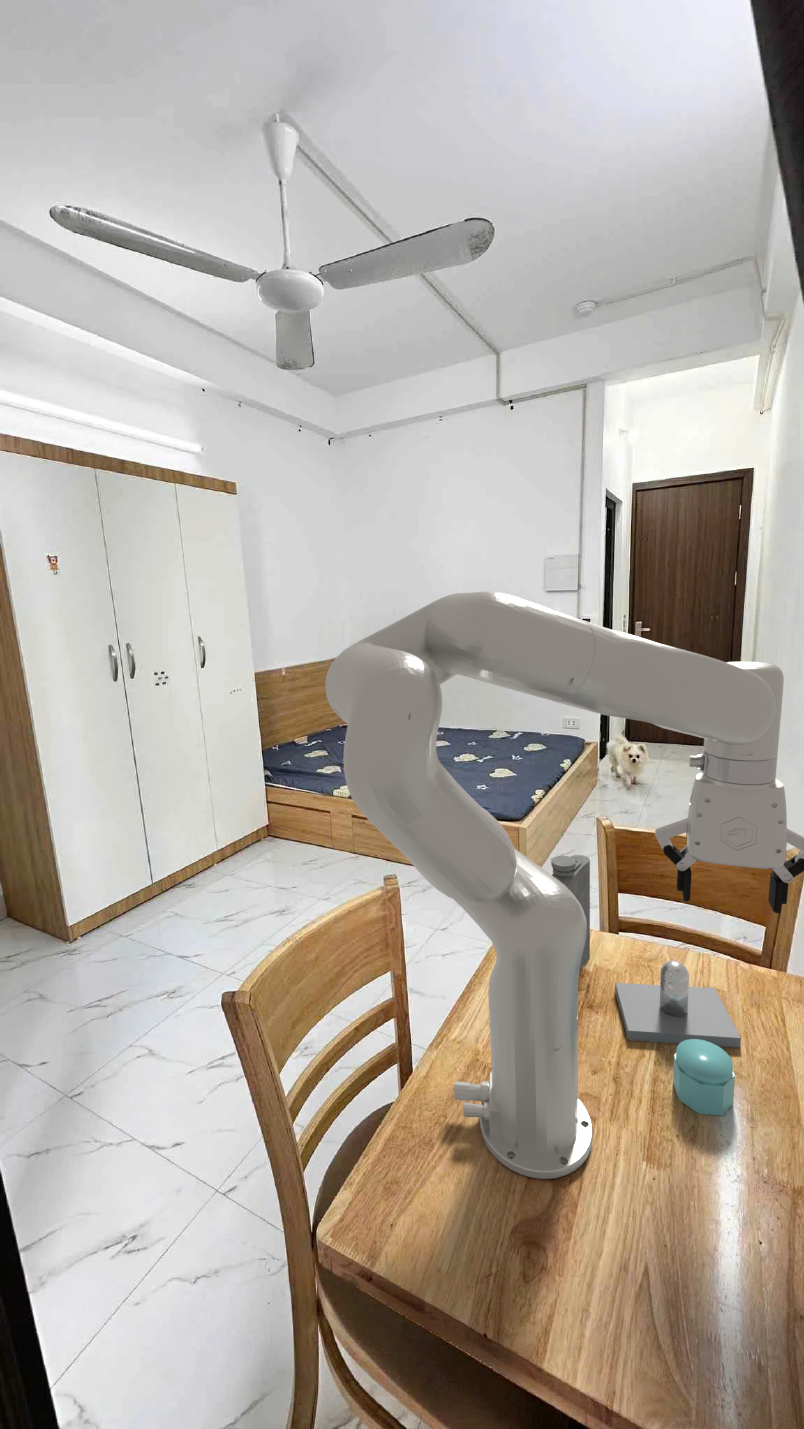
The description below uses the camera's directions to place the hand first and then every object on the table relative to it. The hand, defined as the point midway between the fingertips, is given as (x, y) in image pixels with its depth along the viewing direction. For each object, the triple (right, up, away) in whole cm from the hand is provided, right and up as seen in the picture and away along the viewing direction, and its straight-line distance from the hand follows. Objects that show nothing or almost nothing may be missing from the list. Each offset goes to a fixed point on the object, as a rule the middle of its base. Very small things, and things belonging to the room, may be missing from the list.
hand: (728, 901), depth 73 cm
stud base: (-2, -20, +11) cm, 23 cm away
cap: (-4, -23, -1) cm, 23 cm away
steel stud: (-2, -18, +11) cm, 22 cm away
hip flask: (-14, -19, +21) cm, 32 cm away
